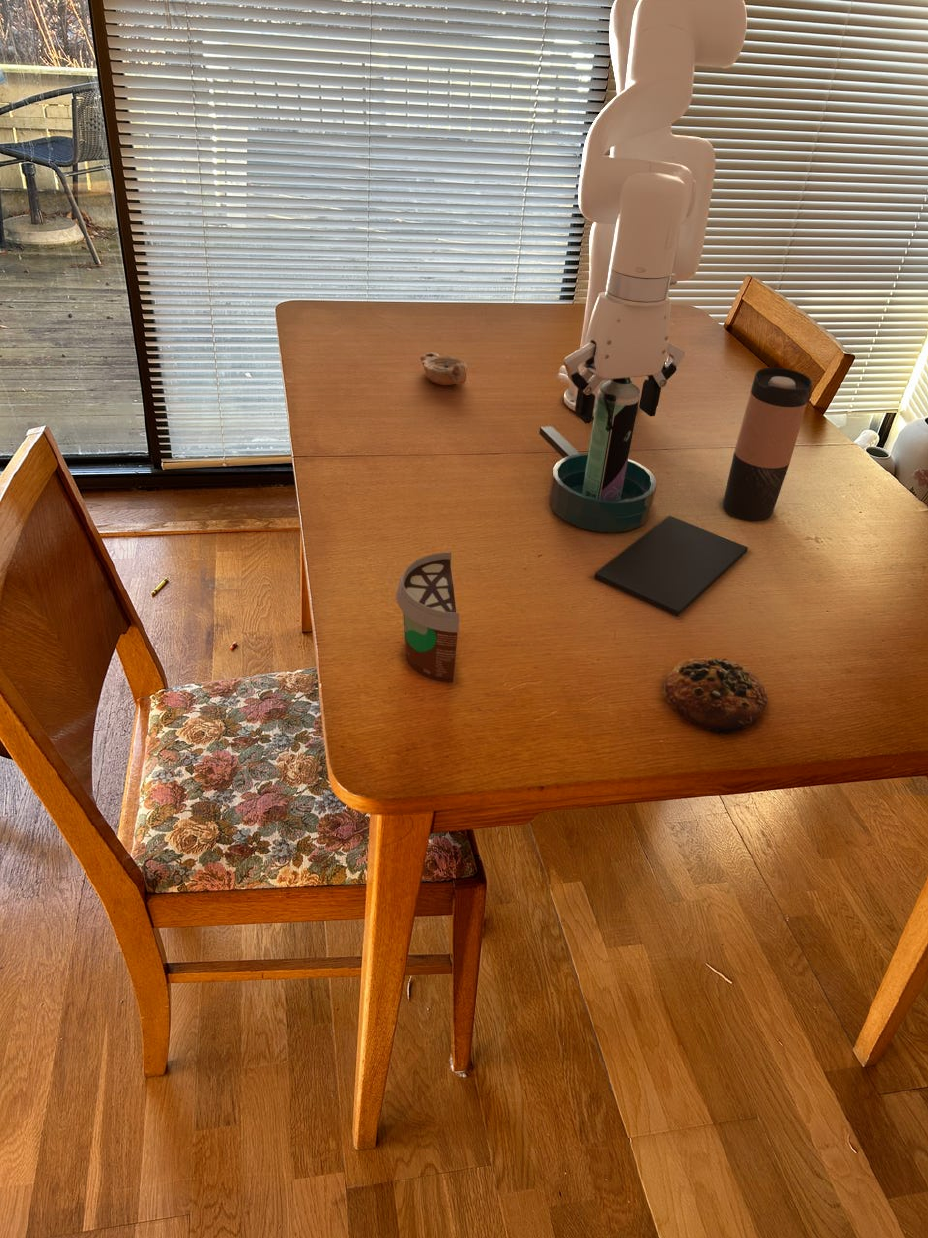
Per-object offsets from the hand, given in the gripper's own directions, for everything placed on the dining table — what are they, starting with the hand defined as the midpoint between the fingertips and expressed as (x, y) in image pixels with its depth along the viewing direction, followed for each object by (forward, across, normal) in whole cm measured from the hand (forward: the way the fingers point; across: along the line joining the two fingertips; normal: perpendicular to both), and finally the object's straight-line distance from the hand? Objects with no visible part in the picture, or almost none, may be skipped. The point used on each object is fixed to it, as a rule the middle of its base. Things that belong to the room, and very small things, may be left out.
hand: (615, 415), depth 124 cm
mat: (+14, -2, +16) cm, 21 cm away
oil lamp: (+14, +5, -48) cm, 50 cm away
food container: (+15, +35, +23) cm, 45 cm away
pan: (+14, 0, 0) cm, 14 cm away
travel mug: (+14, -21, +6) cm, 26 cm away
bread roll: (+15, +8, +40) cm, 43 cm away
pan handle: (+11, 0, -13) cm, 17 cm away
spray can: (+14, 0, 0) cm, 14 cm away
